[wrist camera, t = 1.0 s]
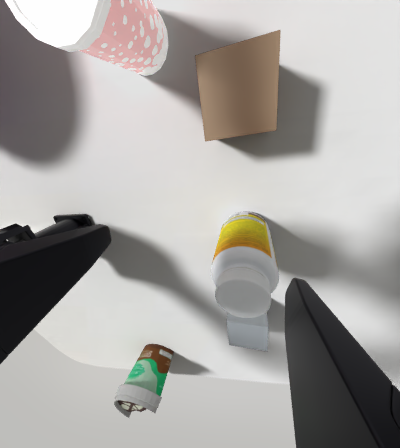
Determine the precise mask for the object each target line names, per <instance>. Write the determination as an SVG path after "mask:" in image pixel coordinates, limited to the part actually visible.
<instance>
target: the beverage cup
mask: <svg viewBox="0 0 400 448" xmlns="http://www.w3.org/2000/svg"><path fill="white" fill-rule="evenodd" d="M5 1H6V3H7V4H8V6H9V8H10V9H11V11H12V13H13V14H14V16H15V17H16V19H17V20H18V21H19V22H20V23H21V24H22V25H23V26H24V27H25V28H26V29H27V30H28V31H29V32H30V33H31V34H32V35H33V36H34V37H35V38H36V39H38V40H40V41H43V42H45V43H47V44H50V45H52V46H55V47H57V48H59V49H63V50H65V51H68V52H74V51H82V52H84V53H87V54H89V55H92V56H94V57H97V58H100V59H102V60H105V61H107V62H110V63H112V64H115V65H118V66H120V67H123V68H125V69H128V70H131V71H133V72H136V73H138V74H141V75H143V76H146V75H153V74H154V73H156V72H157V71H158V70H159V69H161V67H162V65H163V63H164V61H165V59H166V55H167V50H168V35H167V29H166V27H165V24H164V21H163V19H162V17H161V15H160V13H159V12H158V10H157V9H156V7H155V5H154V4H153V2H152V1H151V0H5Z"/></svg>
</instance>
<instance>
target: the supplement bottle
mask: <svg viewBox="0 0 400 448" xmlns="http://www.w3.org/2000/svg"><path fill="white" fill-rule="evenodd" d="M211 277H212V280H213V282H214V284H215V285H216V291H215V297H216V300H217V303H218V304H219V306H220V307H221V308H222V309H223V310H225V311H226V312H228V313H230V314H232V315H234V316H237V317H242V318H253V317H258V316H261V315H263V314H264V313H266V312H267V311H268V309H269V308H270V306H271V293H272V292H273V291H274V290H275V288H276V287H277V284H278V281H279V272H278V267H277V262H276V257H275V252H274V248H273V243H272V238H271V234H270V229H269V226H268V224H267V222H266V221H265V220H264V219H263V218H262V217H261V216H259V215H258V214H255V213H253V212H246V211H244V212H238V213H235V214H233V215H231V216H230V217H228V218H227V219H226V221H225V222H224V224H223V226H222V229H221V233H220V236H219V240H218V244H217V247H216V251H215V255H214V258H213V262H212V266H211Z"/></svg>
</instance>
